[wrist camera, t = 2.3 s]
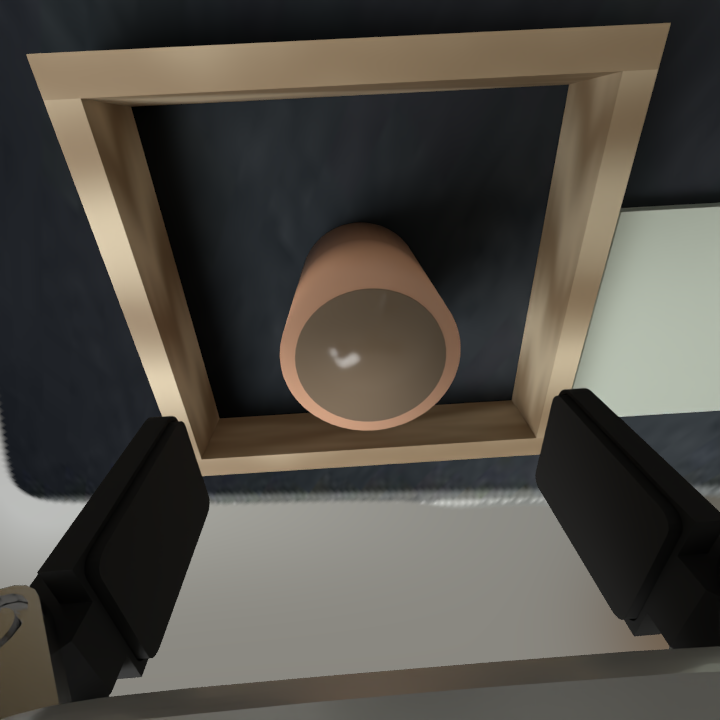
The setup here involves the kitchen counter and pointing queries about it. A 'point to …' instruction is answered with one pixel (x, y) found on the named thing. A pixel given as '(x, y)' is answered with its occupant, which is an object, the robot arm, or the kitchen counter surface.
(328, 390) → the terracotta pot
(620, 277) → the sage tile
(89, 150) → the frame
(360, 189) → the kitchen counter surface
